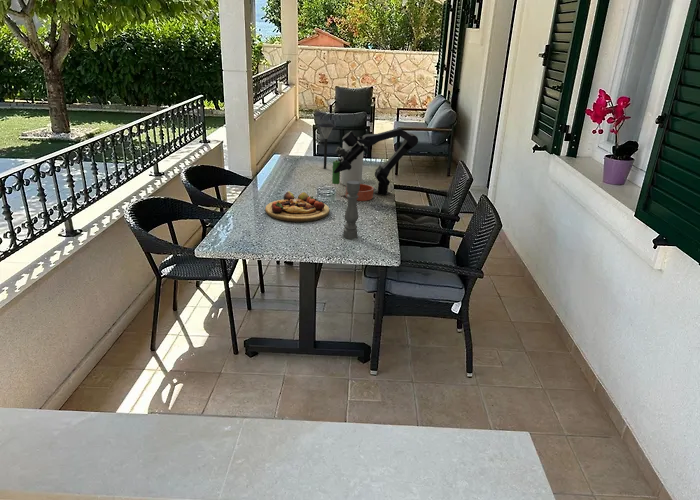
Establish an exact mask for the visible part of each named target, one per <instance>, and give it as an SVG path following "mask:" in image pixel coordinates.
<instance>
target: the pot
mask: <svg viewBox="0 0 700 500" xmlns="http://www.w3.org/2000/svg"><path fill="white" fill-rule="evenodd" d="M344 189H345V190H344V196H345V197H346V198H347V195H348V192H347V186H345V188H344ZM374 191H375V188H374V187H373V186H372V185H369V184H367V183H366V184H365V183H362V184H360V190H359V192H358V194H357V195H358V196H359V197H358V198H357V202H366V201H367V202H368V201H370V200H372V199H373V198H374V194H375V193H374Z"/></svg>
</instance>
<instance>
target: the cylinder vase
mask: <svg viewBox="0 0 700 500" xmlns="http://www.w3.org/2000/svg"><path fill="white" fill-rule="evenodd" d="M357 142H358V141H357ZM358 143H359V142H358ZM359 144H361V143H359ZM362 145H363V146H364V147H365V145H364V144H362ZM352 147H353V146H352ZM352 147H351V146H350V147H349V146H348V145H347V144H346V143H345V142H344V141H342V148H343V149H345V150H346V151H347V150H348V149H349V150H350V149H351V148H352ZM364 153H365V152H364V151H363V152H362V153H361V154H360V155H359V156H358V157H357V159H356V160H355V159H354V160H353V161H352V162H351V169H350V170H348V169H347V170H344V171H340V183H341V185H343V186H345V187H346V186H347V181H358V182H360V184H363V169H364V168H363V167H364Z"/></svg>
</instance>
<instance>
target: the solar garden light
mask: <svg viewBox="0 0 700 500" xmlns="http://www.w3.org/2000/svg"><path fill="white" fill-rule="evenodd" d="M316 126H317V127H319V128H320V130H321V133H322V136H323V139H324V142H323V143H324V144H323V145H324V146H323V149H324V150H323V169H324V170H326V169H327V161H328V139H329V136H330V135H331V132H332V130H333V128H336V125H335V124H333V123H332V122H328V121H325V122H319V123H318V124H316Z"/></svg>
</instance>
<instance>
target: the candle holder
mask: <svg viewBox="0 0 700 500" xmlns="http://www.w3.org/2000/svg"><path fill="white" fill-rule="evenodd" d="M359 190H360V182H358V181H347V192H348V195H347V197H346V198H347V206H346V210H345V213H344V220H345V224H344V228H343V235H342V236H343V238H344V239H347V240H355V239H357V238H358V225H357V224H356V223H357V221H358V220H359V213H358V207H357V203H358V201H357V198H358V197H359V196H358V195H357V194H358V192H359Z"/></svg>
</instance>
